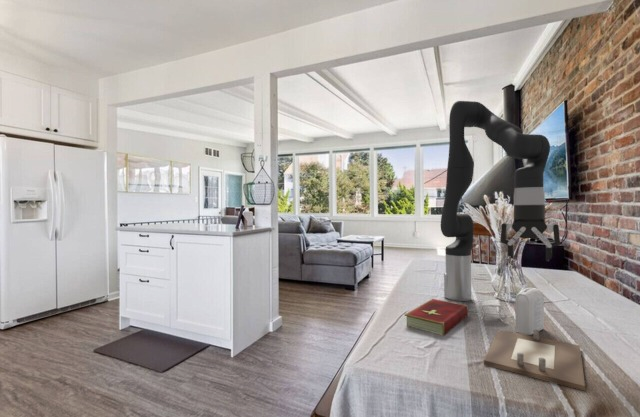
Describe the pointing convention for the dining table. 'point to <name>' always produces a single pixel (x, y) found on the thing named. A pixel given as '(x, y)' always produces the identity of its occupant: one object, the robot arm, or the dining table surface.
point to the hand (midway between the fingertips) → (529, 259)
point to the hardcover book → (437, 316)
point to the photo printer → (529, 311)
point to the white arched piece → (491, 304)
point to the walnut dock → (537, 358)
